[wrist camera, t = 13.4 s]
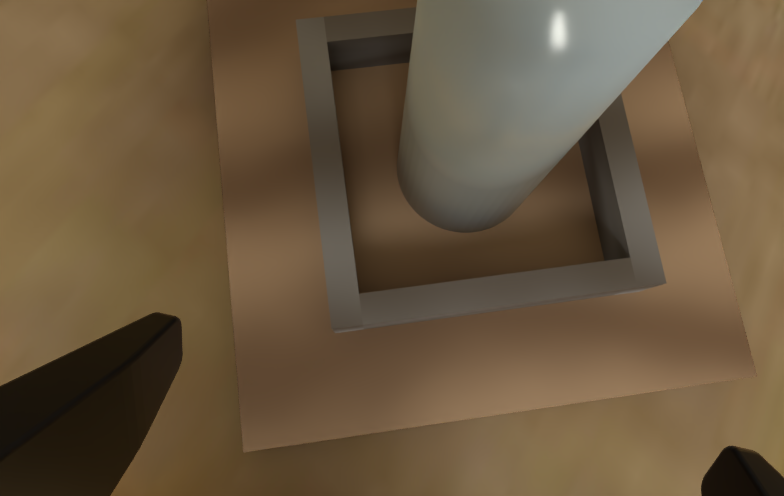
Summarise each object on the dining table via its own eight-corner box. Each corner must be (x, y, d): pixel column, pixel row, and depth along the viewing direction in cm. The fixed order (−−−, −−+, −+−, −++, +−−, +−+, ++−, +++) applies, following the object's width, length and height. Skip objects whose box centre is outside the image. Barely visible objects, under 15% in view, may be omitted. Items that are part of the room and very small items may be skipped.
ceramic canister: (556, 184, 21) (781, -43, 10) (449, 259, 21) (552, 110, 9) (476, 83, 22) (595, -242, 10) (370, 151, 21) (370, -116, 10)
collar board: (739, 376, 21) (798, 376, 18) (249, 448, 20) (228, 462, 17) (630, -45, 25) (665, -101, 22) (212, -3, 24) (189, -56, 21)
